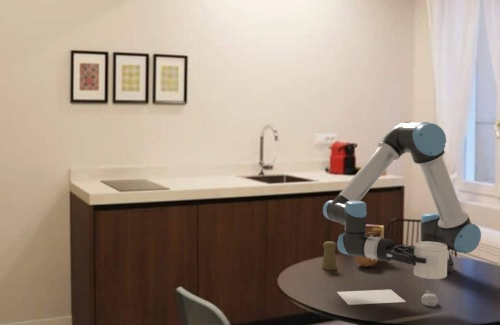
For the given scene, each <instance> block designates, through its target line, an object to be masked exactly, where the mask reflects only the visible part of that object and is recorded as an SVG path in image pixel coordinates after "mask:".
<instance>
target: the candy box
mask: <svg viewBox="0 0 500 325" xmlns="http://www.w3.org/2000/svg"><path fill="white" fill-rule="evenodd" d="M366 236H368V237H376V238H381V239H385V237H384V236H385V225H383V224H381V225H380V224H370V223H369V224H368V223H366ZM377 262H383V260H379V259H378V261H377Z"/></svg>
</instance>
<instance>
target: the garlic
mask: <svg viewBox="0 0 500 325" xmlns="http://www.w3.org/2000/svg"><path fill="white" fill-rule="evenodd" d="M438 303H439V298H438V296H437V295H436V294H434V293H431V291H430V290H425V293H424V294H423V295H422V296H421V304H422V305H423V306H426V307H436V306H437V305H438Z"/></svg>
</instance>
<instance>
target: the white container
mask: <svg viewBox="0 0 500 325" xmlns="http://www.w3.org/2000/svg"><path fill="white" fill-rule="evenodd" d="M413 246H414V255H416V257H417V255H422V256H429V257H435V258H437V266H430V265H424V264H417V262H416V266H413V265H412V266H413V269H412V270H413V271H412V272H413V275H414V276H416V277H418V278H421V279H427V280H441V279H445V278H446V277H448V273H447V257H448V249H447V245H446V244H443V243H439V242H430V241H423V242H421V241H417V242H415V243H414V245H413Z"/></svg>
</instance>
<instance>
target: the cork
mask: <svg viewBox="0 0 500 325" xmlns="http://www.w3.org/2000/svg"><path fill="white" fill-rule="evenodd" d="M322 246H323V249H324V251H323V256H322V257H323V258H322V259H323V260H322V267H321V268H322V269H323V270H327V271H334V270H337V269H338V268H337V259H336V252H335V251H336V248H337V243H336V242H334V241H333V240H332V241H330V240H329V241H328V240H327V241H324V243H323V244H322Z"/></svg>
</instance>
